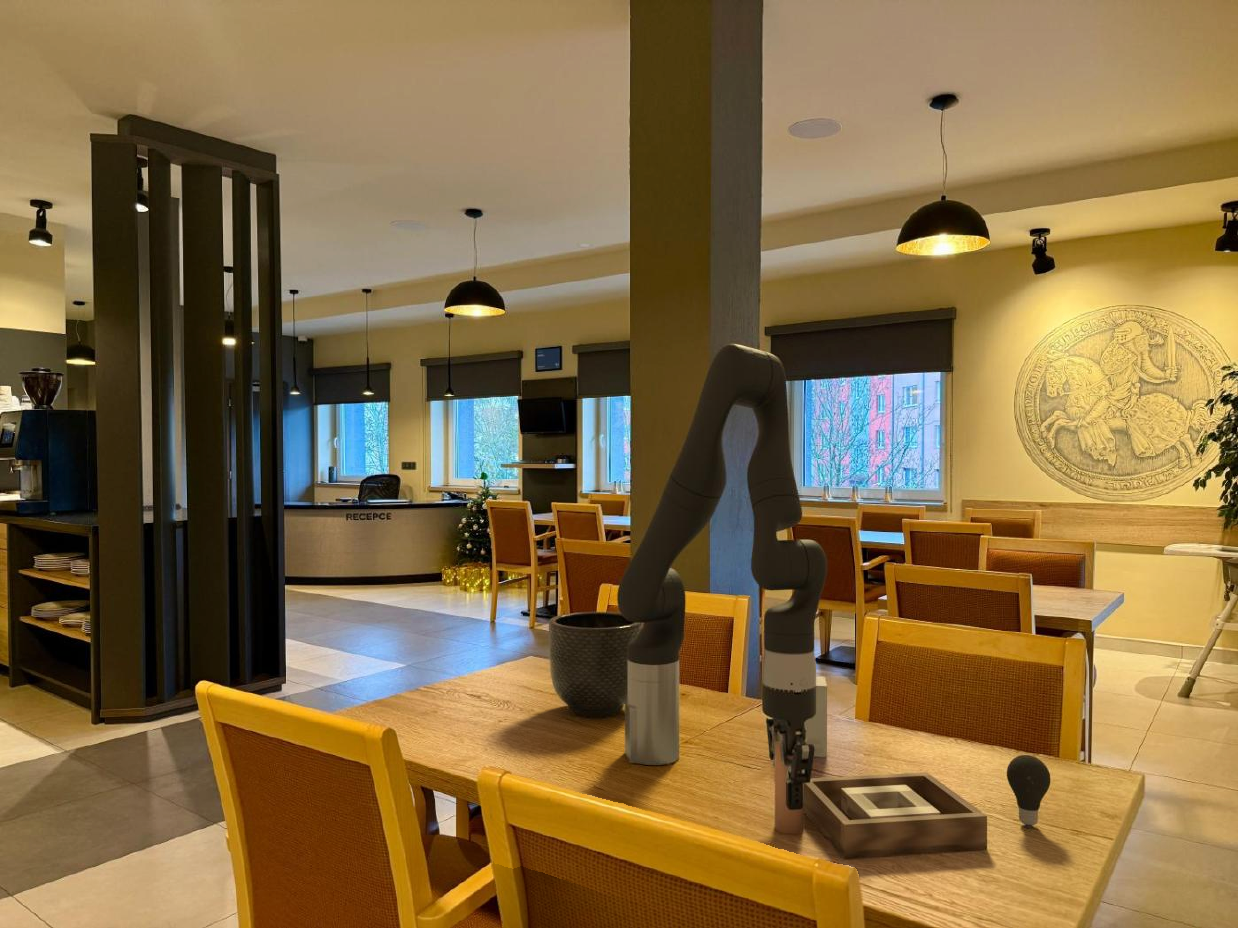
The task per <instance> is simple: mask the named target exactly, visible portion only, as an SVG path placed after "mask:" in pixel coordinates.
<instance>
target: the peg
mask: <svg viewBox="0 0 1238 928" xmlns="http://www.w3.org/2000/svg"><path fill="white" fill-rule="evenodd" d="M787 758H788V759H793V756H788V755H787ZM791 767H792V766H791ZM798 773H799V771H798ZM786 782H787V781H786V772H785V765H783V764H782V763H781V753H780V744H779V743H778V741H775V768H774V829H775V830H776V831H777V832H779V833H782V834H785V835H786V834H787V835H797V834H800V833H803V832H804V814H805V813H804V783H803V808H802V809H799V810H789V809H788V808H787V806H786Z"/></svg>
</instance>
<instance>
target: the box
mask: <svg viewBox="0 0 1238 928" xmlns="http://www.w3.org/2000/svg"><path fill="white" fill-rule="evenodd" d="M804 814H805V815H806V817H808V818H807V819H809V820H810V821H811V822H812V823H813V825H814V826H815V827H816V828H817V829H818V831H819V832H820V833H821V834H822V835H823V836H824V837H825V838H826V840H827V841H828V842H829V843H830V844H831V846H832V847H833V848H834V849H835V850H836V851H837V852H838V854H840V856H841V857H842V858H843V859H844V860H850V859H851V860H853V859H867V858H882V857H883V858H884V857H898V856H911V855H928V854H941V853H958V852H959V853H960V852H969V851H971V852H972V851H973V852H974V851H986V850H988V815H986V814H985V813H984V812H983V811H981V810H979V809H978V808H977V807H975V806H974V805H973V804H971V803H970V802H969V801H967V800H966V799H965V798H963V797H961V795H959V794H958V793H956V791H954V790H952V789H951V788H950V787H948V786H947V785H945V784H944V783H942V782H941V781H940V780H939V779H937V778H936V777H934V776H933V775H932V774H930V773H929V772H909V773H908V772H907V773H892V774H889V773H888V774H870V775H852V776H851V775H850V776H832V777H831V776H829V777H814V778H812V777H811V779H810V783H804Z"/></svg>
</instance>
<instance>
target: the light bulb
mask: <svg viewBox="0 0 1238 928" xmlns="http://www.w3.org/2000/svg"><path fill="white" fill-rule="evenodd" d="M1006 779H1007V782H1008V784H1009V787H1010V789H1011V790H1012V792H1013V794H1014V796H1015V798H1016V804H1017V807H1018V820H1019V822H1021V823H1022V824H1024V826H1025V828H1033V826H1034V825H1037V824H1038V822H1039V811H1040V808H1041V802H1042V801H1043V798H1044V797H1045V795H1046V794H1047V792H1048V791H1049V788H1050V786H1051V774H1050V771H1049V768H1048V767H1047V765H1046V764H1045V763H1044V762H1043V761H1042V760H1041V759H1039V758H1038V757H1036V756H1035V755H1034V756H1033V755H1030V754H1020V755H1018V756H1016V757H1014V758H1013V759H1012V760H1011V761H1010V762H1009V764H1008V766H1007V768H1006Z"/></svg>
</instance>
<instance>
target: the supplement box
mask: <svg viewBox="0 0 1238 928" xmlns="http://www.w3.org/2000/svg"><path fill="white" fill-rule="evenodd" d="M804 725H805V730H806V732H807V743H806V744H813V745H814V749H815V750H814V758H816V757H817V758H827V756H828V684H827V679H826V676H821V675H820V676H818V675H816V715H815V716H814V717H813V718H811V719H808V720H806V721H805V722H804Z"/></svg>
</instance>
